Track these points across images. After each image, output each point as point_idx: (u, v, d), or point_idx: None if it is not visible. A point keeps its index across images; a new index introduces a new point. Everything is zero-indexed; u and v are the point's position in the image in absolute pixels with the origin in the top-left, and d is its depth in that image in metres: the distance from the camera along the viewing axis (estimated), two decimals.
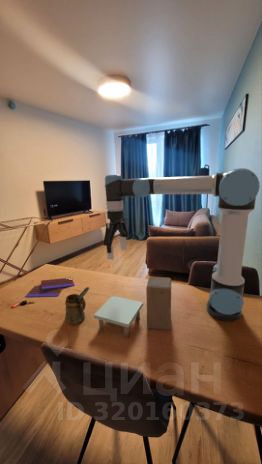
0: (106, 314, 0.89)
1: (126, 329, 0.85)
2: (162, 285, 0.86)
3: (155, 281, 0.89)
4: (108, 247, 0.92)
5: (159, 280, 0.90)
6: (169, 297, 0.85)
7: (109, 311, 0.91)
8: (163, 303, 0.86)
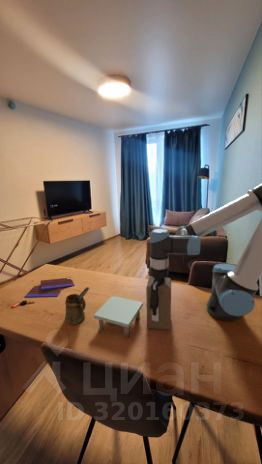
0: (106, 314, 0.89)
1: (126, 329, 0.85)
2: (162, 284, 0.86)
3: None
4: (154, 310, 0.85)
5: None
6: (169, 297, 0.85)
7: (109, 311, 0.91)
8: (163, 303, 0.86)
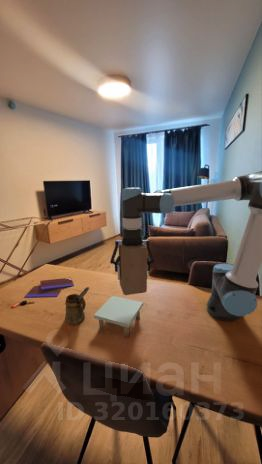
0: (106, 314, 0.89)
1: (126, 329, 0.85)
2: (126, 246, 0.83)
3: None
4: None
5: None
6: (123, 259, 0.81)
7: (109, 311, 0.91)
8: (121, 264, 0.84)
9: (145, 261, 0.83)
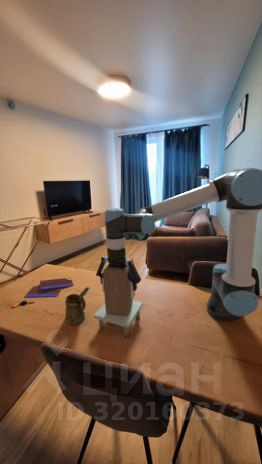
0: (106, 314, 0.89)
1: (126, 329, 0.85)
2: (110, 267, 0.86)
3: None
4: None
5: None
6: (103, 279, 0.85)
7: None
8: None
9: (124, 285, 0.83)
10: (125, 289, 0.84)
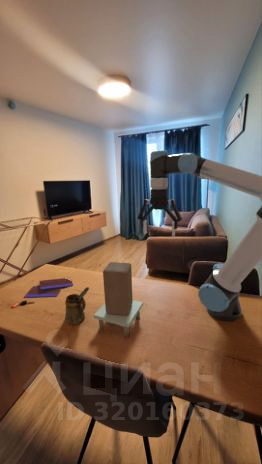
0: (106, 314, 0.89)
1: (126, 329, 0.85)
2: (110, 267, 0.86)
3: (118, 264, 0.89)
4: None
5: (120, 266, 0.87)
6: (103, 279, 0.85)
7: None
8: None
9: (124, 285, 0.83)
10: (125, 289, 0.84)
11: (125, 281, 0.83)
